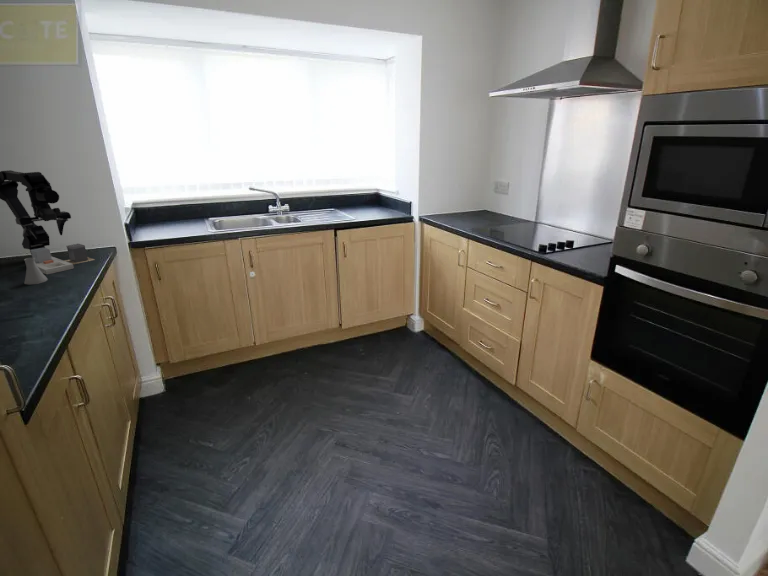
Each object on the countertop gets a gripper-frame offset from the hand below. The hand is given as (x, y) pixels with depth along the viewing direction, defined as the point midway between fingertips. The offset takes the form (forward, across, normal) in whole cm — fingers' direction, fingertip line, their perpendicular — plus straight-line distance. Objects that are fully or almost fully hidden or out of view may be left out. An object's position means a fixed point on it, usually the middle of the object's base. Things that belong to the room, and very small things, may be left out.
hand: (49, 237), depth 188 cm
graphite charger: (+12, +7, -6) cm, 15 cm away
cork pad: (+12, +7, -6) cm, 15 cm away
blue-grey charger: (+12, -5, -1) cm, 13 cm away
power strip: (+12, -5, -4) cm, 14 cm away
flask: (+12, -16, -25) cm, 32 cm away
